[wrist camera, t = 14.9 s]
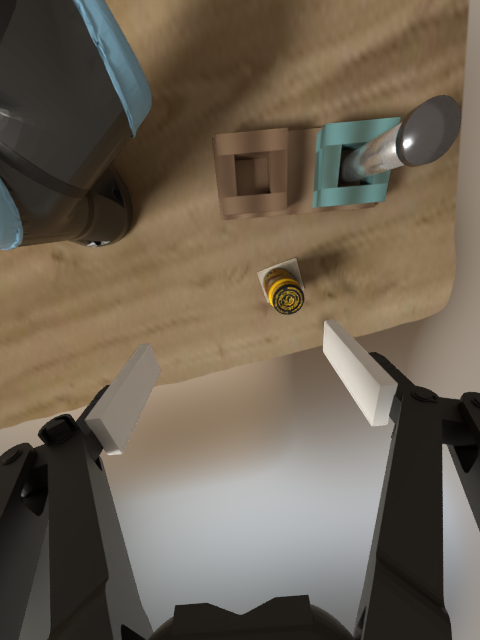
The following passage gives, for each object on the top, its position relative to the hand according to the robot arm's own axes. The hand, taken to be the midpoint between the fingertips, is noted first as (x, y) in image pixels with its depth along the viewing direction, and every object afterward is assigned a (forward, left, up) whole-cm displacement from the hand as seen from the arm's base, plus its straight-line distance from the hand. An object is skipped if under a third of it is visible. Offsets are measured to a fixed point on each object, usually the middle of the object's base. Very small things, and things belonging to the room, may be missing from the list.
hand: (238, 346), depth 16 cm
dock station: (-1, +19, -31) cm, 36 cm away
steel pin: (+6, +24, -30) cm, 38 cm away
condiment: (+9, +3, -31) cm, 33 cm away
